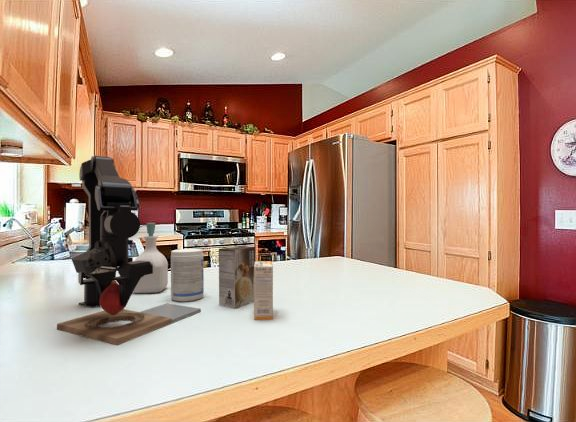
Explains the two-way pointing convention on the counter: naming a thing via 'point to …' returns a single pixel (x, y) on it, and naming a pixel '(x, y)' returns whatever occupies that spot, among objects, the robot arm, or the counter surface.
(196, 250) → the supplement tub
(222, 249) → the coffee box
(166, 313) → the plate
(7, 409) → the counter surface
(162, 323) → the walnut bore board
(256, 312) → the supplement box
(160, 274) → the soap bottle
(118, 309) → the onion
